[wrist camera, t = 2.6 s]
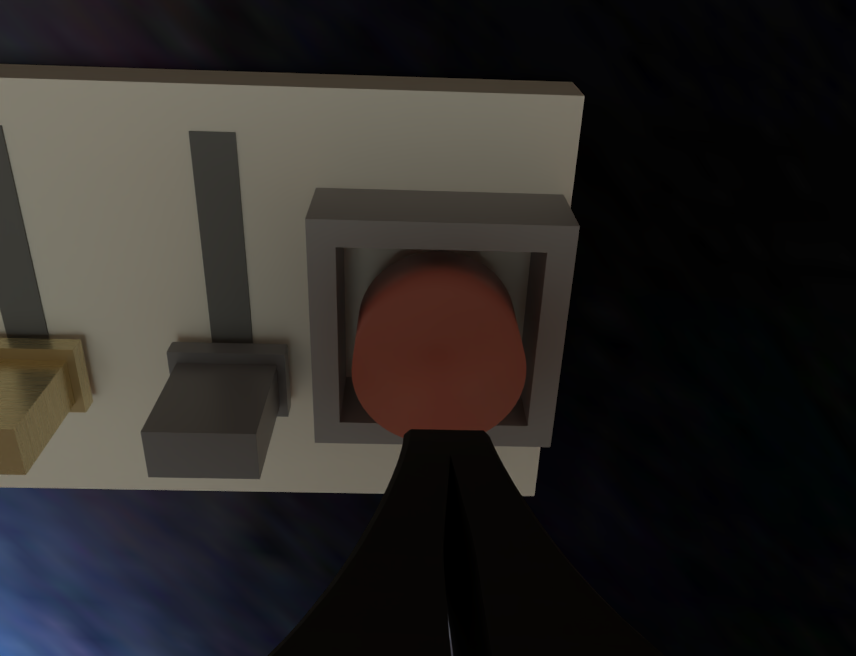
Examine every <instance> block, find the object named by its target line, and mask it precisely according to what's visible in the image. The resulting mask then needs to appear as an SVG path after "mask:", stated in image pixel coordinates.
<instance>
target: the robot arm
mask: <svg viewBox="0 0 856 656" xmlns="http://www.w3.org/2000/svg"><path fill="white" fill-rule="evenodd" d="M268 656H665V655H664V654H662V653H661V652H660V651H659V650H658V649H656V648H655V647H654V646H653V645H652V644H651V643H650V642H649V641H647V640H646V639H645V638H644V637H643V636H642V635H641V634H640V633H638V632H637V631H636V630H635V629H634V628H633V627H632V626H631V625H630V624H628V623H627V622H626V621H625V620H624V619H623V618H622V617H621V616H620V615H618V613H617V612H616V611H615V610H614V609H613V608H612V607H611V606H610V605H609V604H608V603H607V602H606V601H605V600H604V599H603V598H602V597H601V596H600V595H599V594H598V593H597V592H596V591H595V590H594V589H593V588H592V587H591V585H590V584H589V583H588V582H587V581H586V580H585V579H584V578H583V577H582V576H581V574H580V573H579V572H578V571H577V570H576V569H575V567H574V566H573V565H572V564H571V563H570V561H569V560H568V559H567V558H566V557H565V555H564V554H563V553H562V552H561V550H560V549H559V548H558V546H557V545H556V544H555V542H554V541H553V540H552V539H551V537H550V536H549V535H548V533H547V532H546V531H545V529H544V528H543V526H542V525H541V524H540V522H539V521H538V519H537V518H536V516H535V515H534V513H533V512H532V510H531V509H530V507H529V506H528V504H527V503H526V501H525V500H524V498H523V497H522V495H521V494H520V492H519V491H518V489H517V487H516V486H515V484H514V482H513V481H512V479H511V477H510V476H509V474H508V472H507V470H506V469H505V467H504V465H503V463H502V461H501V459H500V457H499V455H498V454H497V452H496V449H495V447H494V445H493V443H492V441H491V438H490V436H489V435H488V434H487V433H486V432H485V431H484V430H435V429H410V430H409V431H408V432H406V433H405V434H404V437H403V444H402V448H401V452H400V455H399V459H398V462H397V464H396V467H395V470H394V472H393V475H392V477H391V480H390V482H389V484H388V486H387V488H386V491H385V493H384V495H383V497H382V499H381V501H380V503H379V505H378V508H377V510H376V511H375V513H374V515H373V517H372V519H371V520H370V522H369V524H368V526H367V527H366V529H365V531H364V533H363V534H362V536H361V538H360V540H359V541H358V543H357V545H356V546H355V548H354V550H353V551H352V553H351V554H350V556H349V557H348V559H347V561H346V562H345V563H344V565H343V566H342V568H341V569H340V571H339V572H338V574H337V575H336V576H335V578H334V579H333V581H332V582H331V583H330V585H329V586H328V587H327V589H326V590H325V591H324V593H323V594H322V595H321V596H320V598H319V599H318V600H317V601H316V603H315V604H314V605H313V606H312V608H311V609H310V610H309V611H308V613H307V614H306V615H305V616H304V617H303V619H302V620H301V621H300V622H299V623H298V624H297V626H296V627H295V628H294V629H293V630H292V631H291V632H290V633H289V634H288V635H287V636H286V638H285V639H284V640H283V641H282V642H281V643H280V644H279V645H278V646H277V647H276V648H275V649H274V650H273V651H272V652H271V653H270V654H269V655H268Z"/></svg>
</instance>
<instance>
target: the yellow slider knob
mask: <svg viewBox="0 0 856 656" xmlns="http://www.w3.org/2000/svg"><path fill="white" fill-rule="evenodd" d="M92 403H93V398H92V393H91V388H90V383H89V378H88V373H87V368H86V363H85V358H84V353H83V348H82V343H81V340H80V339H34V338H0V475H26V474H27V473H28V471H29V470H30V469H31V467H32V466H33V464H34V463H35V461H36V460H37V458H38V457H39V455H40V454H41V452H42V451H43V449H44V448H45V447H46V445H47V444H48V442H49V441H50V439H51V438H52V436H53V435H54V433H55V432H56V430H57V429H58V427H59V426H60V425H61V423H62V422H63V420H64V419H65V417H66V416H67V414H68V413H69V412H83V413H86V412H87V410H88V409H89V407H90V406H91V404H92Z"/></svg>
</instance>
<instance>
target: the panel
mask: <svg viewBox="0 0 856 656" xmlns="http://www.w3.org/2000/svg"><path fill="white" fill-rule="evenodd" d="M584 97H585V96H584V95H583V94H582V92H581V91H580V90H579V89H578V88H577V87H576V86H575V85H574V83H573V82H557V81H525V80H494V79H462V78H431V77H399V76H368V75H336V74H305V73H273V72H242V71H210V70H179V69H147V68H116V67H84V66H53V65H22V64H0V338H34V339H80V340H81V343H82V348H83V353H84V358H85V363H86V368H87V373H88V378H89V383H90V388H91V393H92V398H93V403H92V404H91V406H90V407H89V409H88V410H87V412H86V413H83V412H69V413H68V414H67V416H66V417H65V419H64V420H63V422H62V423H61V425H60V426H59V427H58V429H57V430H56V432H55V433H54V435H53V436H52V438H51V439H50V441H49V442H48V444H47V445H46V447H45V448H44V449H43V451H42V452H41V454H40V455H39V457H38V458H37V460H36V461H35V463H34V464H33V466H32V467H31V469H30V470H29V471H28V473H27V474H26V475H0V487H18V488H79V489H139V490H199V491H259V492H320V493H380V494H384V493H385V491H386V488H387V486H388V484H389V482H390V480H391V477H392V475H393V472H394V470H395V467H396V464H397V462H398V459H399V455H400V452H401V448H402V444H403V438H402V437H400V436H397V435H395V434H393V433H391V432H389V431H388V430H386V429H384V428H383V427H382V426H380V425H379V424H378V423H377V422H375V421H374V420H373V419H372V418H371V417H370V416H369V414H368V413H367V412H366V411H365V409H364V408H363V406H362V405H361V403H360V401H359V400H358V397H357V395H356V392H355V389H354V385H353V381H352V360H353V352H354V345H355V338H356V331H357V323H358V316H359V310H360V305H361V302H362V299H363V297H364V294H365V292H366V291H367V289H368V287H369V285H370V284H371V283H372V281H373V280H374V279H375V278H376V277H377V276H378V275H379V274H380V273H381V272H382V271H383V270H384V269H386V268H387V267H388V266H389V265H391V264H393V263H394V262H396V261H398V260H400V259H402V258H405V257H407V256H410V255H413V254H417V253H422V252H428V251H445V252H453V253H458V254H462V255H465V256H468V257H470V258H473V259H475V260H477V261H479V262H480V263H482V264H483V265H485V266H486V267H488V268H489V269H490V270H491V271H492V272H494V273H495V274H496V275H497V276H498V278H499V279H500V280H501V281H502V283H503V284H504V286H505V287H506V289H507V291H508V293H509V295H510V297H511V300H512V304H513V308H514V312H515V316H516V320H517V324H518V328H519V332H520V336H521V340H522V344H523V349H524V353H525V358H526V379H525V384H524V387H523V390H522V393H521V395H520V397H519V399H518V401H517V403H516V405H515V406H514V407H513V409H512V410H511V412H510V413H509V414H508V415H507V416H506V417H505V418H504V419H503V420H502V421H501V422H499V423H498V424H497V425H496V426H494V427H493V428H491V429H490V430H488V431H487V432H486V433H487V434H488V435H489V436H490V438H491V441H492V443H493V445H494V447H495V449H496V452H497V454H498V455H499V457H500V459H501V461H502V463H503V465H504V467H505V469H506V470H507V472H508V474H509V476H510V477H511V479H512V481H513V482H514V484H515V486H516V487H517V489H518V491H519V492H520V494H521V495H522V496H534V494H535V487H536V479H537V471H538V463H539V455H540V447H550V446H551V438H552V431H553V423H554V416H555V408H556V401H557V393H558V386H559V378H560V370H561V363H562V355H563V348H564V340H565V333H566V325H567V318H568V310H569V303H570V295H571V288H572V280H573V273H574V265H575V258H576V250H577V243H578V235H579V228H580V226H579V224H578V222H577V220H576V218H575V216H574V214H573V212H572V210H571V200H572V192H573V184H574V176H575V168H576V160H577V153H578V145H579V137H580V129H581V121H582V113H583V105H584ZM172 342H206V343H252V344H287V345H288V362H289V379H290V396H291V408H290V412H289V416H288V417H279V416H277V418H276V422H275V425H274V429H273V433H272V436H271V440H270V444H269V448H268V451H267V455H266V459H265V462H264V466H263V470H262V473H261V477H260V479H218V478H159V477H148V473H147V467H146V461H145V455H144V449H143V444H142V438H141V430H142V428H143V426H144V424H145V422H146V420H147V419H148V417H149V415H150V413H151V411H152V409H153V407H154V405H155V403H156V401H157V399H158V397H159V395H160V394H161V392H162V390H163V388H164V386H165V384H166V382H167V380H168V378H169V376H170V373H169V366H168V359H167V350H168V348H169V347H170V345H171V343H172Z"/></svg>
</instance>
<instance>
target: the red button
mask: <svg viewBox="0 0 856 656" xmlns="http://www.w3.org/2000/svg"><path fill="white" fill-rule="evenodd" d="M525 379H526V358H525V353H524V349H523V344H522V340H521V336H520V332H519V328H518V324H517V320H516V316H515V312H514V308H513V304H512V300H511V297H510V295H509V293H508V291H507V289H506V287H505V286H504V284H503V283H502V281H501V280H500V279H499V278H498V276H497V275H496V274H495V273H494V272H492V271H491V270H490V269H489V268H488V267H486V266H485V265H483V264H482V263H480V262H479V261H477V260H475V259H473V258H470V257H468V256H465V255H462V254H458V253H453V252H445V251H428V252H422V253H417V254H413V255H410V256H407V257H405V258H402V259H400V260H398V261H396V262H394V263H393V264H391V265H389V266H388V267H387V268H386V269H384V270H383V271H382V272H381V273H380V274H379V275H378V276H377V277H376V278H375V279H374V280H373V281H372V283H371V284H370V285H369V287H368V289H367V291H366V292H365V294H364V297H363V299H362V302H361V305H360V310H359V316H358V323H357V331H356V338H355V345H354V352H353V360H352V381H353V385H354V389H355V392H356V395H357V397H358V400H359V401H360V403H361V405H362V406H363V408H364V409H365V411H366V412H367V413H368V414H369V416H370V417H371V418H372V419H373V420H374V421H375V422H377V423H378V424H379V425H380V426H382V427H383V428H384V429H386V430H388V431H389V432H391V433H393V434H395V435H397V436H400V437H402V438H403V437H404V434H405V433H406V432H408V431H409V430H410V429H435V430H484V431H485V432H487V431H488V430H490V429H491V428H493V427H494V426H496V425H497V424H498V423H499V422H501V421H502V420H503V419H504V418H505V417H506V416H507V415H508V414H509V413H510V412H511V410H512V409H513V407H514V406H515V405H516V403H517V401H518V399H519V397H520V395H521V393H522V390H523V387H524V384H525Z"/></svg>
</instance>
